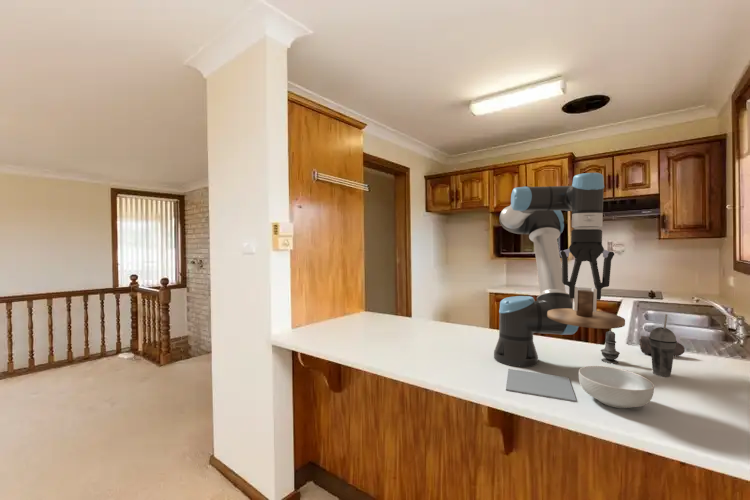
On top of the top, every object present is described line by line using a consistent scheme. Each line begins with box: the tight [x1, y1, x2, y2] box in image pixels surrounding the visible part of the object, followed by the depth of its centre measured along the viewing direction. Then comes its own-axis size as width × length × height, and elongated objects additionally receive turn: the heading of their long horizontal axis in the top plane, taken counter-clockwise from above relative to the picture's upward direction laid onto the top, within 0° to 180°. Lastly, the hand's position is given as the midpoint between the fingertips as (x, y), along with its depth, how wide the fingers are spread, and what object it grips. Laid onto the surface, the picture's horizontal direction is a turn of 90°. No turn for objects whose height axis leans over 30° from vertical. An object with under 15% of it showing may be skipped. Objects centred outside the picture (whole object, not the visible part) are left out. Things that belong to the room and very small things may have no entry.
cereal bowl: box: [578, 365, 655, 409], centre depth 95 cm, size 17×17×7 cm
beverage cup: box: [648, 314, 678, 378], centre depth 116 cm, size 7×7×20 cm
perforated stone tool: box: [638, 335, 686, 357], centre depth 136 cm, size 15×5×7 cm, turn 69°
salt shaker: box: [600, 328, 620, 365], centre depth 128 cm, size 6×6×12 cm
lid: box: [547, 289, 626, 330], centre depth 100 cm, size 19×19×8 cm
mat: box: [505, 368, 577, 403], centre depth 107 cm, size 18×18×1 cm
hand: (584, 310), depth 100 cm, fingers closed on lid, 4 cm apart
